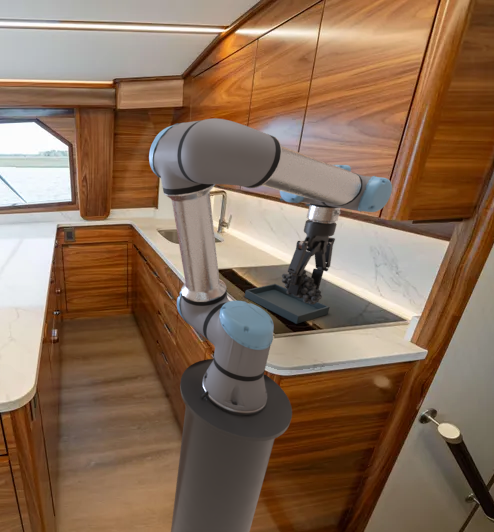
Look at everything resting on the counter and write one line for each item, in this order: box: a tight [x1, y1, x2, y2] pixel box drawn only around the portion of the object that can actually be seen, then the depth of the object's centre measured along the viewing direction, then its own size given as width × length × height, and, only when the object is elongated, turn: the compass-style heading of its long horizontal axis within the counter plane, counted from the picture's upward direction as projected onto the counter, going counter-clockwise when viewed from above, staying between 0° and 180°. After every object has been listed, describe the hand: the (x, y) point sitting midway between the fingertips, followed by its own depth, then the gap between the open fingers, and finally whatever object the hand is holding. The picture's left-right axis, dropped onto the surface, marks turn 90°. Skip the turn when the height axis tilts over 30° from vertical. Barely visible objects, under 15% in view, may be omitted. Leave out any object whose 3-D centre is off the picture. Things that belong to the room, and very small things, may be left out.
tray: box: [244, 283, 331, 325], centre depth 117 cm, size 17×23×3 cm
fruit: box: [281, 269, 323, 304], centre depth 93 cm, size 9×8×15 cm
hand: (303, 291), depth 94 cm, fingers closed on fruit, 9 cm apart
